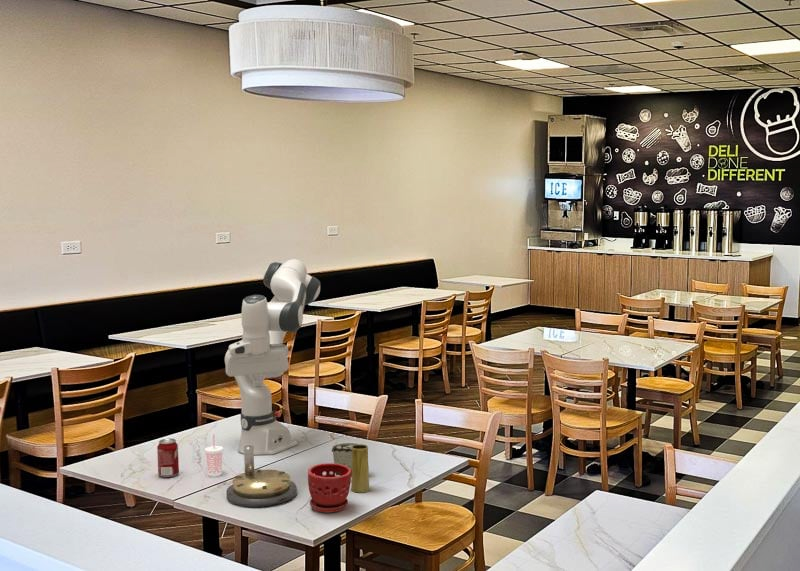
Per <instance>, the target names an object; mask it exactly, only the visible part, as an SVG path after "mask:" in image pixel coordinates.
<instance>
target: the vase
mask: <svg viewBox="0 0 800 571" xmlns="http://www.w3.org/2000/svg"><path fill="white" fill-rule="evenodd" d="M356 444H357V445H353V446H352V477H351V484H350V490H351V492H352V493H353V492H354V493H359V494H361V493H362V492H364V493H366V491H367V492H369V491H370V489H371V487H370V473H369V472H370V471H369V468H370V466H369V446H368V445H366V444H361V443H356ZM368 490H369V491H368ZM362 494H363V493H362Z"/></svg>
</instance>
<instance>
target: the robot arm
mask: <svg viewBox="0 0 800 571" xmlns="http://www.w3.org/2000/svg"><path fill="white" fill-rule="evenodd" d="M263 284H264V286H265V287H267V288H268V289H269V290H271V293H272V294H273V295H274V296H273V297H272V299H271V300H270V301H269V302H268V300H267V297H265V296H264V295H261V294H252V295H248V296H245V298H243V299H242V303H241V304H242V305H241V326H242V338H241V340H239V341H236V342H234V343H231V344H229V346H228V349H227V351H226V353H225V356H224V364H225V375H227V376H228V377H232V378H233V377H234V379H235V381H236V383H237V385H238V389H239V393H240V402H241V406H240V407H241V412H240V425H241V434H240V439H239V440H240V441H239V444H238V445H239V446H238V449H237V451H238V452H239V453H240V454H244V447H245V446H253V447H254V456H258V455H261V456H262V455H270V456H271V455H276V454H278V453H281V452H282V451H285V450H288V449H290V448H293V447H295V446H297V445H298V442H297V440H296V439H294V438H292V437H291V431H290V429H289V428H288V427H287V426H285V425H284V424H282V422H280V421H278V420H277V419H276V417H277V418H280V417H281V416H282V413H281V412H280V411H277V410H276V411H274V410H272V409H273V408H272V407H273V405H272V391H271V389H270V388H269V387H268V386H267V385H266V384H265V383H264V381H265V379H268V378H269V379H270V378H279V377H281V376H282V375H283V374H284V373H285V372H287V371H288V370H289V360H288V355H289V348H288V346H287V345H286V344H284V343H283V342H284V339H285V337H286V334H287V333H296V332H297V331H298V330H299V329H300V328H301V327H302V326H303V320H304V312H305V306H306V305H310V304H312V303H313V302H314V301H315V300H316V299H317V298H318V297H319V295H320V292H321V281H320V280H319V279H318V278H316V277H315V276H311V275H310V274H308V269H307V267H306V264H305V263H304V262H302V261H301V260H300V259H294V258H292V259H288V260H286V261H285V262H283V263H282V262H278V261H274V262H271V263H270V264H269V265H268V266H267V267H266V268H265V270H264V273H263Z"/></svg>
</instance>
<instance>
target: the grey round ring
mask: <svg viewBox="0 0 800 571" xmlns="http://www.w3.org/2000/svg"><path fill="white" fill-rule="evenodd" d="M225 492H226V493H225V495H226V500H227V502H228V503H230V504H231V505H234V506H235V507H241V508H248V509H249V508H250V509H262V508H264V509H265V508H273V507H277V506H280V505H284V504H287V503H290V502H291V501H293V500H294V499H295V498H296V496H297V495H298V486H297V484H296V483H295V482H293V481H292V480H290V489H289V490H288V491H287V492H285V493H283V494H281V495H278V496H274V497H268V498H246V497H241V496H238V495H236V494H235V493H234V492H233V484H230V486H228V487H227V489H226V491H225Z"/></svg>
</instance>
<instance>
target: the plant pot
mask: <svg viewBox="0 0 800 571" xmlns="http://www.w3.org/2000/svg"><path fill="white" fill-rule="evenodd" d="M337 471H338V472H340V474H341V476H337V475H336V474H335V473H336V472H337ZM324 472H325V475H324ZM331 472H332V474H331ZM351 480H352V477H351V469H350V468H349V467H347V466H345V465H341V464H335V463H334V462H332V463H330V462H328V463H319V464H316V465H312V466H311V467H309V468H308V471H307V485H308V486H307V487H308V491H309V495H310V497H311V498H310V500H309V505H310V507H311V508H312V509H313V510H315V511H317V512H320V513H335V512H340V511H343V510H344V509H345V508H346V507H347V506H348V505H349V504H348V503H349V500H348V496H349V493H350V490H351Z"/></svg>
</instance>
